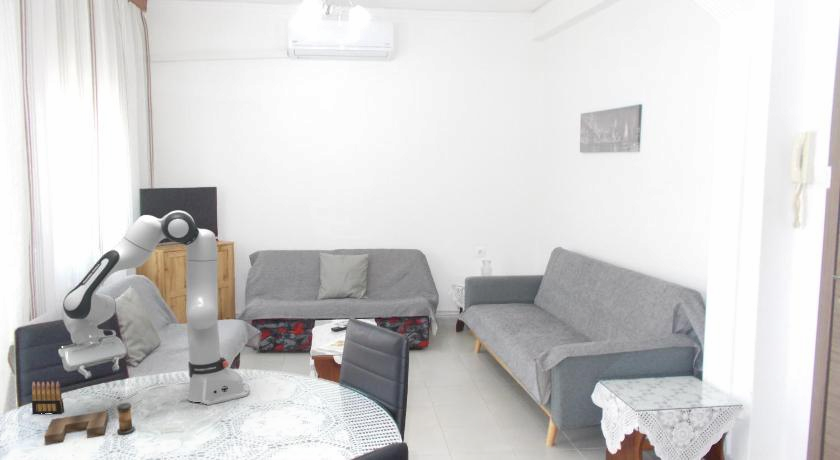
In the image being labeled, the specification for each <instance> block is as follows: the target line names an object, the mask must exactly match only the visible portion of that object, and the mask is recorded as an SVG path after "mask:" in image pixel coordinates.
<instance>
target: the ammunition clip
mask: <svg viewBox="0 0 840 460" xmlns="http://www.w3.org/2000/svg"><path fill="white" fill-rule="evenodd" d="M31 389H32V390H31V399H32V401H31V411H32V415H33V414H39V415H46V414H45V413H52V414H51V415H62V414H64V413H65V406H64V401H63V400H64V399H63V398H62V392H61V385H60V382H59V381H58V380H57V381H56V383H55V382H54V381H53V380H52V381H51V384H50V382H49V381H47V382H46V384H45V382H44V381H42V382H41V383H40V381H37V382H35V381H34V380H33V381H32V384H31ZM41 413H42V414H41Z"/></svg>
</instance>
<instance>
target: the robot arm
mask: <svg viewBox="0 0 840 460" xmlns="http://www.w3.org/2000/svg"><path fill="white" fill-rule="evenodd" d="M125 232H126V233H125V234H124V236H123V237H122V239H121V240H120V241H119V242H118V243H117V245H115V246H114V247H113V248H112V249H110V250H108V251H107V252H105V253H104V254H103V255H102V256H101V257H100V258H99V259H98V260H97V262H96V263H95V264H94V265H93V267H91V269H90V270H89V271H88V272H87V273H86V275H85V276H84V277H83V278H82V279H81V281H80V282H79V283H78V284H76V286H74V288H73V289H71V290H70V291H69V292H68V293H67V294H66V296H64V299H63V302H62V308H61V317H62V320H63V324H64V326H65V328H66V330H67V331H68V333H69V334H70V339H71V341H72V343H70V344H68V345H61V347H60V348H59V349H58V350H57V352H58V353H57V354H58V355H59V357H60V358H61V361H62V366H63V369H64V370H65V371H67V372H74V371H78V373H80V374H81V375H83V376H84V378H85V379H86V380H87V379H90V378H92V373H91V371H90V370H89V371H87V370H86V369H85V368H89V367H92V366H97V365H101V364H104V363H105V364H106V363H109V362H112V363H114V364H113V365H112V367H111V368H112V371H113V372H117V371H119V370H120V366H119V360H121V359H123V358H124V357H125V356H126V354H127V350H128V349H127V348H126V345H125V344H124V342H123V340H121V338H120V337H118V336H117V332H116V331H115V330H114V329H101V328H98V326H99V325H102V324H104V323H105V322H107V321H109V320H110V319H111V318H113V317H114V315H115V314H116V310H117V303H116V300H115V298H114V297H113V296H111V295H108V294H105V293H104V294H103V293H99V292H98V290H99V289H100V288H101V287H102V286H103V284H104V283H105V282H106V281H107V280H108V278H109V277H110V276H111V275H113V274H115V273H117V272H119V271H125V270H130V269H136V268H140V267H141V266H143V265H144V264H145V263H146V262H147V261H148V260H149V259H150V257H151V255H152V254H153V252H154V250H155V248H156V247H157V246H158V244H159V243H160V242H161V241H162V240H165V239H168V240H169V241H171V242H174V243H178V244H181V245H185V249H186V251H185V252H186V266H185V267H186V270H185V271H186V274H185V277H186V278H185V283H186V284H185V317H186V326H187V327H186V328H187V340H188V341H187V342H188V343H187V344H188V359H189V361H188V376H189V387H188V388H189V389H188V394H187V398H188V399H189V400H190V401H194V402H201V403H200V404H202V403H204V404H203V405H205V404H207V406H210V405H215V404H218V403H222V402H223V403H224V402H226V401H232V400H235V399H236V400H237V399H239V398H244V397H247V396H248V395H249V394H250V388H249V385H248V384H247V383H245V382H243V378H242V376H241V375H240V374H239V373H238V372H237V371H235V370H233V369H232V368H230V367H228V366H229V362H228V361H227V359H225V357H221V348H220V346H221V345H220V336H219V335H220V334H219V333H220V332H219V322H218V321H219V320H218V316H219V296H218V294H219V288H218V287H219V284H218V283H219V282H218V279H219V278H218V276H219V275H218V274H219V273H218V270H219V269H218V268H219V267H218V266H219V262H218V261H219V257H218V256H219V251H218V243H217V238H216V234H215V233H214V232H213V231H212V230H209V229H207V228H198V227H197V225H196V223H195V220H194V218H193V216H192V215H190V214H189V213H188V212H187V211H185V210H183V209H180V210H179V209H176V210H172V211H169V212H168V213H166V214H164V215H162V216H160V217H156V216H154V215H151V214H143V215H141V216H139V217H138V218H137V219H136V220H135V221H134V222H133V224H132V225H130V227H129V228H128V230H127V231H125ZM188 399H187V400H188ZM189 400H188V401H189ZM190 401H189V402H190ZM194 402H193V403H194Z"/></svg>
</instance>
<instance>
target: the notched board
mask: <svg viewBox="0 0 840 460" xmlns="http://www.w3.org/2000/svg"><path fill="white" fill-rule="evenodd" d="M108 420H109V414H108V410H103V411H96V412H90V413H83V414H79V415H78V414H77V415H71V416H65V417H64V416H63V417H58V418H51V420H50V423H49V425H48V427H47V429H46V431H45V434H44V445H45V446H48V445H54V444H59V443H64V441H65V438H66V434H69V433H76V432H82V431H86V438H87V439H89V438H95V437H101V436H105V434H106V429H107V427H108V426H107V425H108V422H109V421H108Z"/></svg>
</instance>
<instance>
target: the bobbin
mask: <svg viewBox="0 0 840 460" xmlns="http://www.w3.org/2000/svg"><path fill="white" fill-rule="evenodd" d="M131 408H132V403H129V402H124V403H120V404H118V405H117V406H116V410H117V416H118V426H119V428H118V429H117V430H116V431H117V435H120V436H124V435H125V436H126V435H130V434H132V433H134V431H135V430H136V429H135V426H133V421H132V420H133V419H132V412H131Z"/></svg>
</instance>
